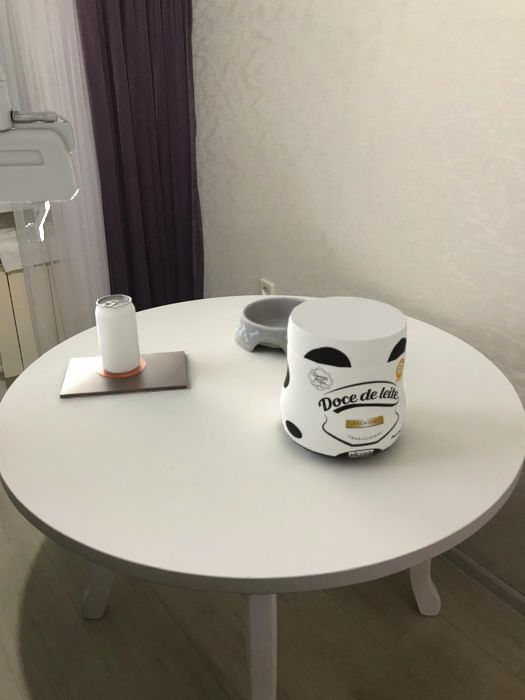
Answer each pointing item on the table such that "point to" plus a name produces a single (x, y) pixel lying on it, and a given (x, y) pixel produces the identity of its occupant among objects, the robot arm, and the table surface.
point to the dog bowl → (266, 322)
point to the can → (117, 334)
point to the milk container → (344, 376)
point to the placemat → (125, 376)
